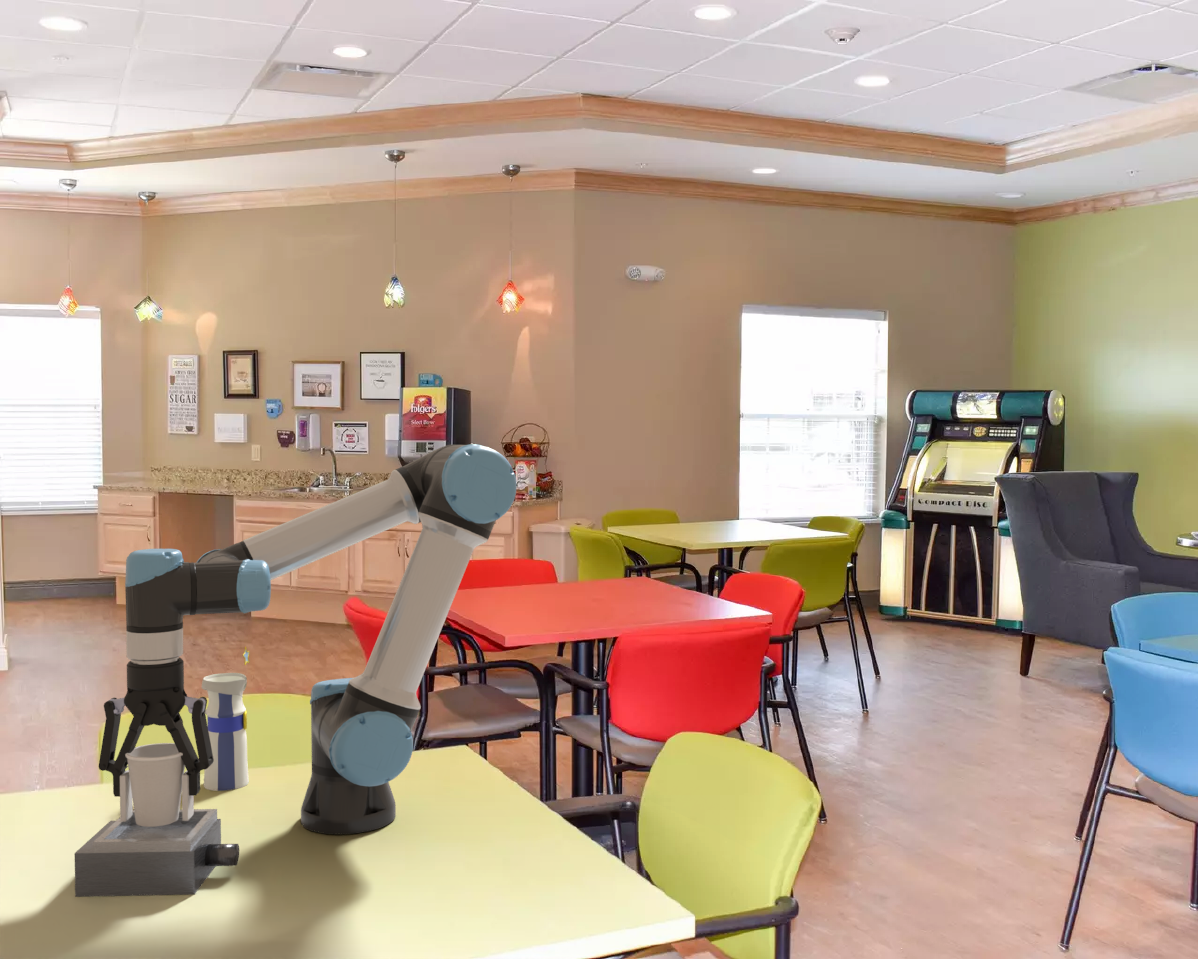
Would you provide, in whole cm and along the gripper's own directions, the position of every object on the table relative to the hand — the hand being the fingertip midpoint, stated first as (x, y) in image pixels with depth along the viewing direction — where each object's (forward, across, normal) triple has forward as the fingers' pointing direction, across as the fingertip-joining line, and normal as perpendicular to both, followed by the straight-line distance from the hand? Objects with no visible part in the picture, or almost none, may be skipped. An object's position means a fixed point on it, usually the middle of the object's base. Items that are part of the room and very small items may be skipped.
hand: (157, 817), depth 162 cm
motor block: (+9, -1, 0) cm, 9 cm away
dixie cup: (+1, 0, 0) cm, 1 cm away
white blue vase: (+9, +2, -43) cm, 44 cm away
